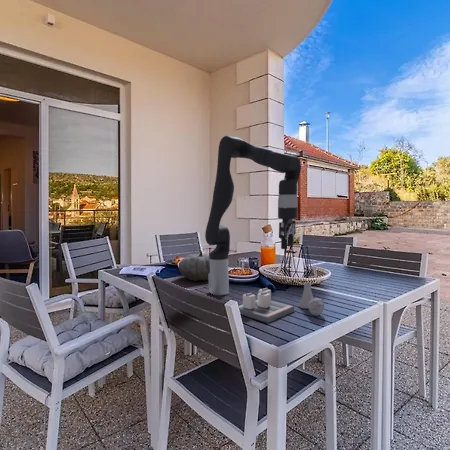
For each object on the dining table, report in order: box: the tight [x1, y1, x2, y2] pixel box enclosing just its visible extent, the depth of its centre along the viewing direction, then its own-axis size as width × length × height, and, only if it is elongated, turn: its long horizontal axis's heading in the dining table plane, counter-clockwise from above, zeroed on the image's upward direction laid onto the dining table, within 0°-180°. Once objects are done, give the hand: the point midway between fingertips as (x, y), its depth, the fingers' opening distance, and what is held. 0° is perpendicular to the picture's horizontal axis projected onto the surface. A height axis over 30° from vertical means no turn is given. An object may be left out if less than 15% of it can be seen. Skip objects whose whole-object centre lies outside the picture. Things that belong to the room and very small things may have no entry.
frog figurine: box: [308, 297, 325, 317], centre depth 124 cm, size 6×7×7 cm
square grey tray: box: [238, 298, 295, 323], centre depth 130 cm, size 17×17×2 cm
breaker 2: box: [258, 287, 272, 302], centre depth 136 cm, size 4×3×6 cm
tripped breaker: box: [257, 292, 271, 308], centre depth 130 cm, size 4×3×6 cm
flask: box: [298, 282, 314, 310], centre depth 135 cm, size 7×7×10 cm
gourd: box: [178, 250, 210, 282], centre depth 189 cm, size 25×25×17 cm
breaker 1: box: [242, 292, 257, 309], centre depth 129 cm, size 4×3×6 cm
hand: (287, 247), depth 127 cm, fingers open, 8 cm apart
